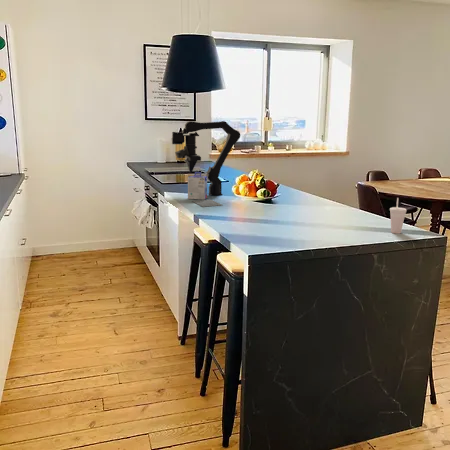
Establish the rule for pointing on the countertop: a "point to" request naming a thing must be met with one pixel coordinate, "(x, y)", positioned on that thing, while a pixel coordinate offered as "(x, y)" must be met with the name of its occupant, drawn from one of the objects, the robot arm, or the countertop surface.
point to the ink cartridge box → (197, 186)
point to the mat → (207, 203)
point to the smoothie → (397, 218)
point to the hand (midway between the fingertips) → (190, 172)
